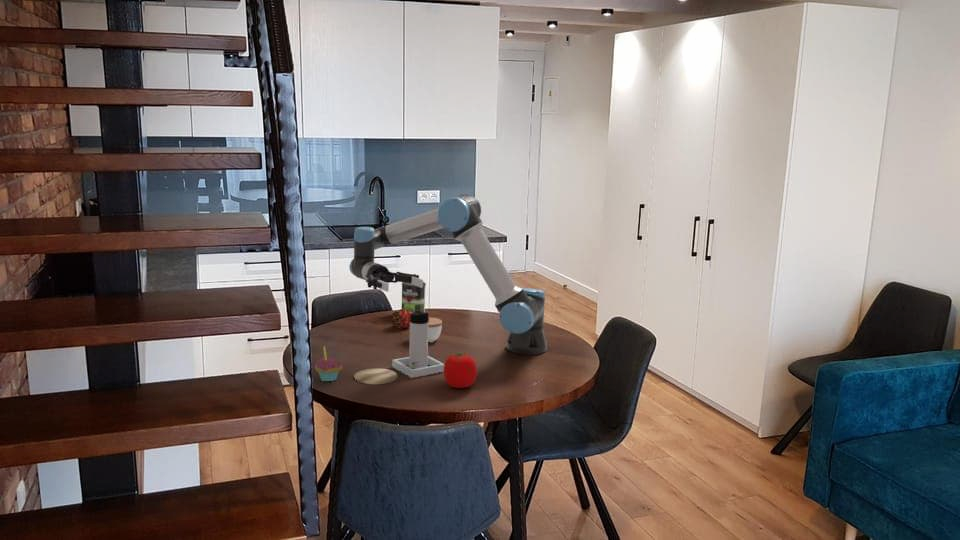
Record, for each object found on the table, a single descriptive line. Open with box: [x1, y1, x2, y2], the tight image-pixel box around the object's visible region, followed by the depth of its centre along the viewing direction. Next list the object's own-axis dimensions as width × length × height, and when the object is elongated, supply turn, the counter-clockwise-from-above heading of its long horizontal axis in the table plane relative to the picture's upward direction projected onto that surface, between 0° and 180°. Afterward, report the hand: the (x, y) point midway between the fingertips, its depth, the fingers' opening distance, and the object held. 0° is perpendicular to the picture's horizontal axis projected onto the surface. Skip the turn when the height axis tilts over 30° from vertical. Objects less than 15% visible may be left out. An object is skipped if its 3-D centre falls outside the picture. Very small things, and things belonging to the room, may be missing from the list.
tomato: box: [443, 352, 478, 389], centre depth 235 cm, size 10×11×11 cm
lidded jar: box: [428, 316, 443, 343], centre depth 283 cm, size 11×11×9 cm
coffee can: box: [401, 281, 427, 314], centre depth 319 cm, size 10×10×14 cm
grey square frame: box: [391, 355, 445, 379], centre depth 250 cm, size 13×13×2 cm
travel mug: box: [408, 312, 430, 369], centre depth 249 cm, size 6×7×20 cm
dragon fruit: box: [390, 308, 412, 330], centre depth 299 cm, size 8×8×12 cm
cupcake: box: [314, 346, 343, 382], centre depth 237 cm, size 9×8×12 cm
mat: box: [353, 367, 398, 385], centre depth 242 cm, size 14×14×1 cm
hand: (405, 285), depth 253 cm, fingers open, 13 cm apart
